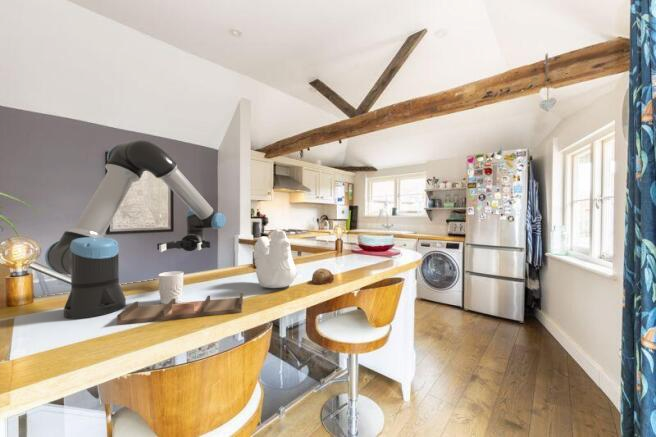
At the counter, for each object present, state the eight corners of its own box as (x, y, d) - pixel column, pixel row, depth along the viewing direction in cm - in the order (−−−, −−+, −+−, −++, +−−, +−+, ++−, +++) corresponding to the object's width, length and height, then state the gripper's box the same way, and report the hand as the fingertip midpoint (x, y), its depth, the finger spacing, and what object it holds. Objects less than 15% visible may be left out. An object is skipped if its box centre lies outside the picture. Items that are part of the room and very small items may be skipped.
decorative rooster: (303, 288, 111) (303, 229, 111) (268, 294, 102) (267, 230, 102) (278, 277, 131) (277, 227, 131) (246, 281, 122) (246, 228, 122)
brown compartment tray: (117, 324, 74) (117, 310, 74) (135, 310, 86) (135, 297, 86) (241, 312, 83) (241, 299, 83) (242, 300, 95) (242, 289, 95)
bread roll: (312, 287, 125) (305, 273, 124) (330, 276, 129) (324, 262, 127) (320, 293, 116) (312, 277, 115) (339, 281, 120) (332, 265, 118)
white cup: (172, 305, 90) (172, 276, 90) (152, 304, 92) (152, 275, 92) (189, 298, 98) (188, 271, 98) (170, 297, 100) (170, 270, 99)
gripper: (219, 249, 129) (213, 255, 109) (161, 251, 122) (143, 259, 102) (219, 233, 129) (213, 237, 109) (161, 235, 122) (143, 239, 102)
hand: (179, 247), depth 105 cm, fingers open, 13 cm apart
